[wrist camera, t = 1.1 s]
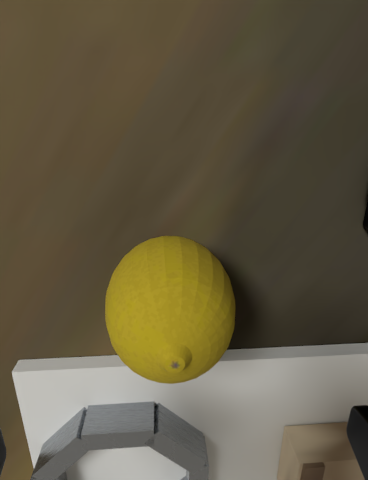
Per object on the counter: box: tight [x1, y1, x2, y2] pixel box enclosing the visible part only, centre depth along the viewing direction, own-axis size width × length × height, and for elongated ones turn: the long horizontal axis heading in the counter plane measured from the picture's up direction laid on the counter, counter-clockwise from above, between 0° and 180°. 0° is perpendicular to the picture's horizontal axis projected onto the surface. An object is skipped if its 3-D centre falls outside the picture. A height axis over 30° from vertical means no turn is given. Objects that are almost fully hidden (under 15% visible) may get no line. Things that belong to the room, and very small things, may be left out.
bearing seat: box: [30, 401, 209, 480], centre depth 21 cm, size 10×10×2 cm
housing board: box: [12, 343, 368, 480], centre depth 22 cm, size 24×16×1 cm
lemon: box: [105, 236, 235, 384], centre depth 14 cm, size 6×6×8 cm
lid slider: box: [277, 422, 365, 480], centre depth 21 cm, size 6×5×3 cm
